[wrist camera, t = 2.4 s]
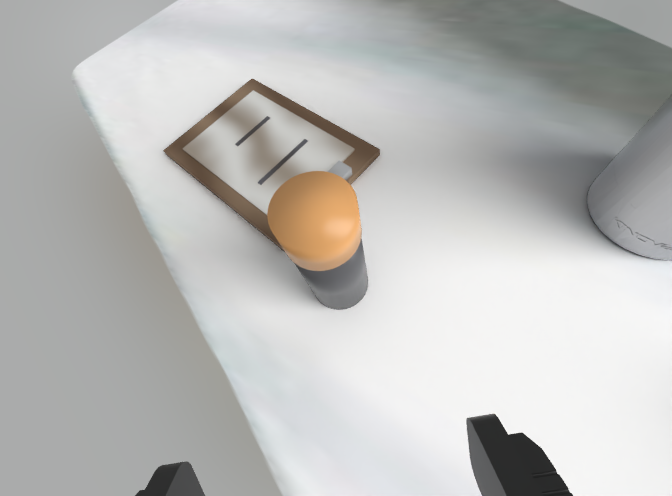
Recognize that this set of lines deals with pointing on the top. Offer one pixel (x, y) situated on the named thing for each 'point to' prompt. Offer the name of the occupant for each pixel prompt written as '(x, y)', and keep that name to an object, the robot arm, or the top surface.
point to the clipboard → (265, 150)
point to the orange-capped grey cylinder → (322, 235)
